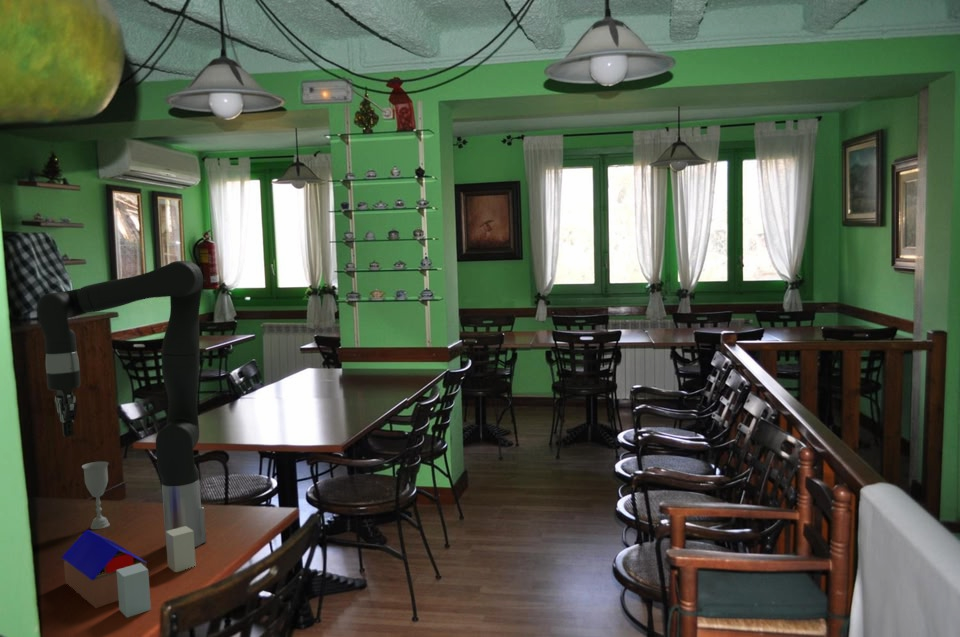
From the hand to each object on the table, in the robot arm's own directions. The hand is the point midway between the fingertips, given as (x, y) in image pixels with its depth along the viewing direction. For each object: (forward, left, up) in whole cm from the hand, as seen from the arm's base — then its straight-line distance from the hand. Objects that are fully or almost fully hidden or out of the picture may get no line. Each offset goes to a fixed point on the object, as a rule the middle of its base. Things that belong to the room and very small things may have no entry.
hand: (68, 436), depth 194 cm
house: (+1, +29, -31) cm, 43 cm away
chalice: (-10, -17, -31) cm, 37 cm away
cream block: (-16, +30, -31) cm, 46 cm away
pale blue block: (0, +46, -31) cm, 55 cm away
